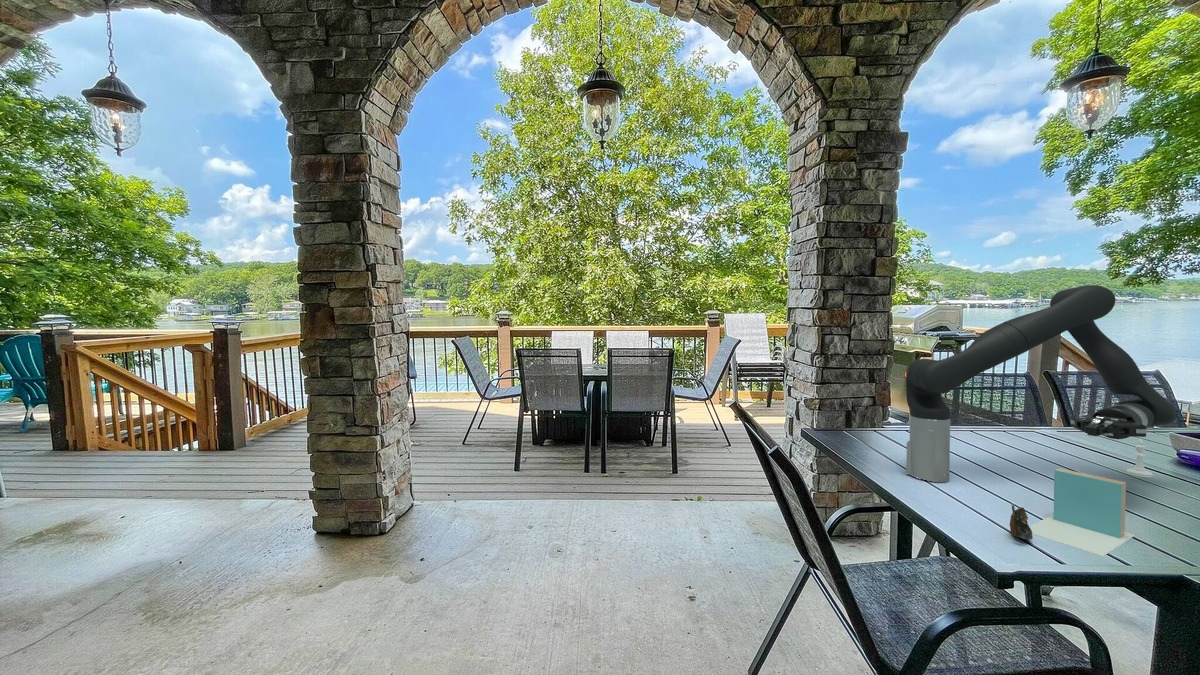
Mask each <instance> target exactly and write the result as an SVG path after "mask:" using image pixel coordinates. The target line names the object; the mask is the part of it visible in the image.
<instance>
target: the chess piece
mask: <svg viewBox="0 0 1200 675" xmlns="http://www.w3.org/2000/svg"><path fill="white" fill-rule="evenodd" d="M1137 443H1138V444H1135V445H1134V448H1135V450H1136V452H1134V455H1135V456H1136V460H1135V466H1133V467H1132V468H1126V472H1125V473H1126V474H1127V475H1132V476H1135V477H1141V478H1153V477H1154V475H1153V474H1154V473H1152V472H1151V471H1148V470H1147V469H1146V468H1145V466H1144V465H1145V464H1144V458H1143V457H1146V456H1147V455H1146V454H1145V453H1144V452H1145V450H1146V448H1147V446H1145V445H1143V444H1144V441H1143V439H1142V438H1139V439H1138V440H1137Z"/></svg>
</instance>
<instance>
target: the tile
mask: <svg viewBox="0 0 1200 675" xmlns="http://www.w3.org/2000/svg"><path fill="white" fill-rule="evenodd" d="M1053 479H1054V480H1053V481H1054V483H1053V485H1054V487H1053V514H1052V515H1053V519H1054V520H1057V521H1061V522H1064V523H1068V524H1071V525H1075V526H1078V527H1081V528H1085V529H1088V530H1092V531H1095V532H1099V533H1102V534H1106V535H1109V536H1113V537H1116V538H1121V537H1123V536H1124V533H1125V532H1126V530H1125V529H1126V526H1125V525H1126V524H1125V523H1126V500H1127V499H1126V497H1127V482H1126V481H1121V480H1117V479H1112V478H1106V477H1101V476H1098V475H1097V476H1096V475H1093V474H1088V473H1083V472H1079V471H1073V470H1069V469H1064V468H1060V467H1059V468H1056V469H1054V478H1053Z"/></svg>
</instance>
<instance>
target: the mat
mask: <svg viewBox="0 0 1200 675" xmlns="http://www.w3.org/2000/svg"><path fill="white" fill-rule="evenodd" d="M1053 515H1054V514H1051V515H1050V516H1047V517H1046V518H1043V519H1042V520H1039V521H1037V522H1036V523H1033V524H1032V525H1029V527H1030V529H1031V531H1032V535H1034V536H1037V537H1040V538H1044V539H1047V540H1050V541H1054V542H1057V543H1060V544H1064V545H1066V546H1069V547H1071V548H1075V549H1078V550H1082V551H1085V552H1088V553H1090V554H1091V553H1092V554H1095V555H1097V556H1100V557H1105V556H1107V554H1109V553H1111V552H1112V551H1113V550H1115V549H1117V548H1118V547H1120V546H1122V545H1123V544H1125V543H1126V542H1127V541H1129V540H1131V538H1134V537H1136V534H1133V533H1131V532H1130V533H1129V532H1126V531H1125V533H1124V536H1123V537H1121V538H1116V537H1113V536H1109V535H1106V534H1102V533H1099V532H1095V531H1092V530H1088V529H1085V528H1081V527H1078V526H1075V525H1071V524H1068V523H1064V522H1061V521H1057V520H1054V519H1053Z"/></svg>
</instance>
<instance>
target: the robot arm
mask: <svg viewBox="0 0 1200 675" xmlns="http://www.w3.org/2000/svg"><path fill="white" fill-rule="evenodd" d="M1115 305H1116V296H1115V293H1114V292H1113V291H1112V290H1111V289H1109V288H1108V287H1104V286H1102V285H1097V284H1095V285H1094V284H1089V285H1081V286H1076V287H1072V288H1071V287H1070V288H1066V289H1063V290H1060V291H1058V292H1056V293H1055V294H1053V295H1052V297H1051V299H1050V304H1049V306H1047V307H1046V308H1042V309H1039V310H1037V311H1034V312H1029V313H1026V314H1023V315H1020V316H1017V317H1015V318H1012V319H1009V320H1006V321H1004V322H1002V323H999V324H997V325H994V326H993V327H991V328H989V329H987V330H985V331H984V332H982V333H980V334H979V335H978V336H977V337H976V338H975V339H974V340H973V342H972V343H971V344H970V345H968V347H966V349H963V350H962V351H960V352H957V353H956V354H954V355H951V356H949V357H946V358H942V359H939V360H937V359H936V360H935V359H930V358H919V359H916V360H914V361H912V362H911V363H910V364H909V366H908V367H907V370H906V375H905V389H906V390H905V391H906V393H905V394H906V403H907V406H908V408H909V440H908V441H906V469H905V470H906V473H909V474H911V475H913V476H915V477H918V478H920V479H923V480H922V481H924V480H927V481H926V482H930V481H932V483H945V482H949V481H950V474H951V473H950V468H951V467H950V466H951V465H950V462H951V461H950V459H951V458H950V457H951V452H950V451H951V449H950V448H951V408H950V407H949V406H948V405H947V404H946V402H945V401H944V399H943V397H942V396H943V394H947V393H949V392H951V391H952V390H954V389H956V388H958V387H959V386H962V385H963V384H964V383H966V382H967V381H969V380H971V379H972V378H974V377H976V376H977V375H979V374H981V373H983V372H986V371H989V370H990V369H992V368H994V367H997V366H999V365H1000V364H1003V363H1005V362H1007V361H1009V360H1013V359H1014V358H1016V357H1018V356H1020V355H1022V354H1024V353H1027V352H1028V351H1030V350H1032V349H1034V348H1036V347H1038V346H1040V345H1042V344H1044V343H1046V342H1048V341H1049V340H1052V339H1053V338H1055V337H1057V336H1059V335H1061V334H1063V333H1065V332H1068V334H1070V336H1071V337H1072V338H1073V339H1074V340H1075V342H1076V343H1077V344H1078V345H1079V346H1080V347H1081V348H1082V350H1083V351H1084V352H1085V354H1086V355H1087V357H1088V358H1089V359H1090V360H1091V362H1092V363H1093V365H1094V367H1095V368H1096V370H1097V371H1098V373H1099V375H1100V376H1101V379H1102V380H1103V382H1104V384H1105V386H1106V387H1107V389H1108V390H1109V392H1111V393H1112V394H1115V395H1127V396H1128V395H1131V396H1136V397H1138V398H1137V399H1129V400H1122V401H1117V402H1115V403H1113V405H1110V406H1107V407H1104V408H1103V407H1102V408H1101V409H1098V410H1097V411H1096V412H1094V413H1093V415H1092V416H1091V417H1085V418H1084V419H1083V417H1078V416H1076V415H1071V416H1070V427H1071V428H1074V429H1076V430H1078V431H1081V432H1084V433H1085V434H1087V436H1092V437H1100V436H1104V438H1105V437H1106V438H1107V439H1110V440H1111V439H1113V440H1125V439H1128V438H1130V437H1134V438H1135V437H1137V438H1138V437H1140V438H1145V437H1147V429H1148V428H1149V427H1155V426H1165V425H1170V424H1172V423H1173V422H1175V421H1176V419H1177V411H1176V409H1175V407H1174V406H1173V404H1171V403H1170V402H1169V401H1168V399H1166V398H1165V397H1164V396H1163V395H1161V394H1160V393H1159V392H1158V391H1157V390H1156V389H1155V388H1154V387H1153V386H1152V385H1151V384H1150V383H1149V382H1148V381H1147V380H1146V378H1145V377H1144V375H1143V373H1142V372H1141V370H1140V369H1139V366H1138V365H1137V363H1136V362H1135V360H1134V359H1133V358H1132V357H1131V355H1130V354H1129V353H1127V351H1126V350H1124V349H1123V348H1122V347H1121V346H1119V344H1116V342H1114V341H1112V340H1111V338H1109V337H1108V336H1107V335H1105V333H1104V332H1102V330H1100V328H1099V327H1098V325H1097V324H1096V322H1095V321H1096V320H1099V319H1101V318H1104V317H1105V316H1107V315H1108V314H1110V312H1111V311H1112V310H1113V309H1114V307H1115ZM906 473H905V474H906ZM920 479H919V480H920Z"/></svg>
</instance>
